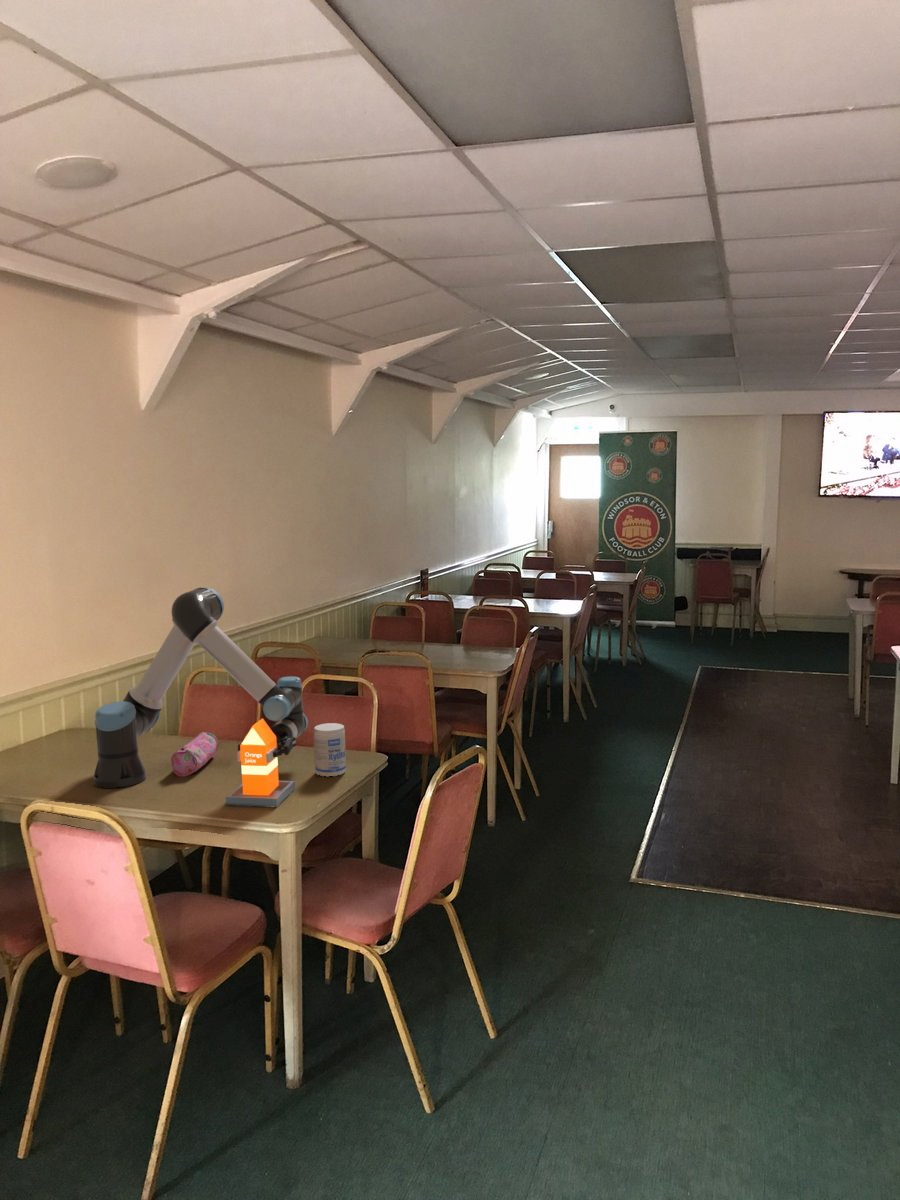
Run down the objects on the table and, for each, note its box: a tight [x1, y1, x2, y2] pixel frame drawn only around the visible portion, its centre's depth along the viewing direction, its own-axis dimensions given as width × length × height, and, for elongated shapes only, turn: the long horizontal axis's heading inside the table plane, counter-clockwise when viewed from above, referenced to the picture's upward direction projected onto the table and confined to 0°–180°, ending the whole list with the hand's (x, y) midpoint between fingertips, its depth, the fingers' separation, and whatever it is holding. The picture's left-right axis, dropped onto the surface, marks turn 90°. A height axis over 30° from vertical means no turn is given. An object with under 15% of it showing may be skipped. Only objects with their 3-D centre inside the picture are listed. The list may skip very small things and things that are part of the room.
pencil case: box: [170, 731, 219, 777], centre depth 295 cm, size 21×9×9 cm, turn 173°
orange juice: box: [240, 717, 280, 795], centre depth 263 cm, size 8×9×20 cm
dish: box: [225, 780, 296, 808], centre depth 265 cm, size 15×15×2 cm
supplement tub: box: [313, 722, 347, 778], centre depth 285 cm, size 10×10×15 cm
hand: (252, 757), depth 259 cm, fingers closed on orange juice, 8 cm apart
